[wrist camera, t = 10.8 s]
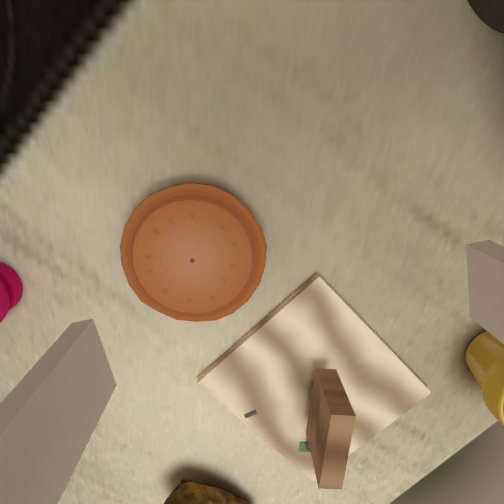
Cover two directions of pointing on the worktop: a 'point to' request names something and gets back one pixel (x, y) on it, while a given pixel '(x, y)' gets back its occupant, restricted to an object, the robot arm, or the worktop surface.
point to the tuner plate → (311, 372)
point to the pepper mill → (8, 289)
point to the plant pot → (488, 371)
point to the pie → (193, 252)
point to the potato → (201, 495)
